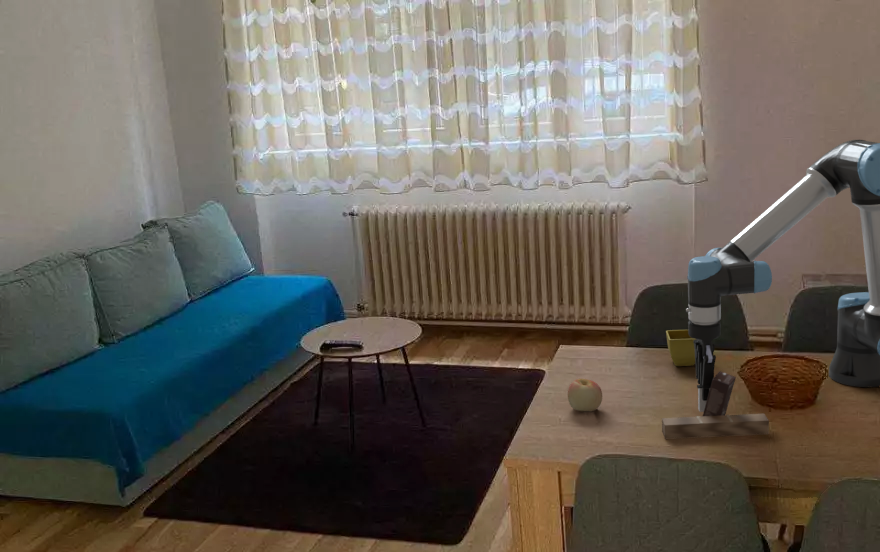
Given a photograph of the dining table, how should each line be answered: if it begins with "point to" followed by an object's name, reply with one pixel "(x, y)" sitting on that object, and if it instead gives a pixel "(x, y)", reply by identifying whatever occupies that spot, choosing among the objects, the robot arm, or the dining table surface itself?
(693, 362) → the flower pot
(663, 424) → the grey long bar
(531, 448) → the dining table surface
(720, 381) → the box
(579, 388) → the apple
